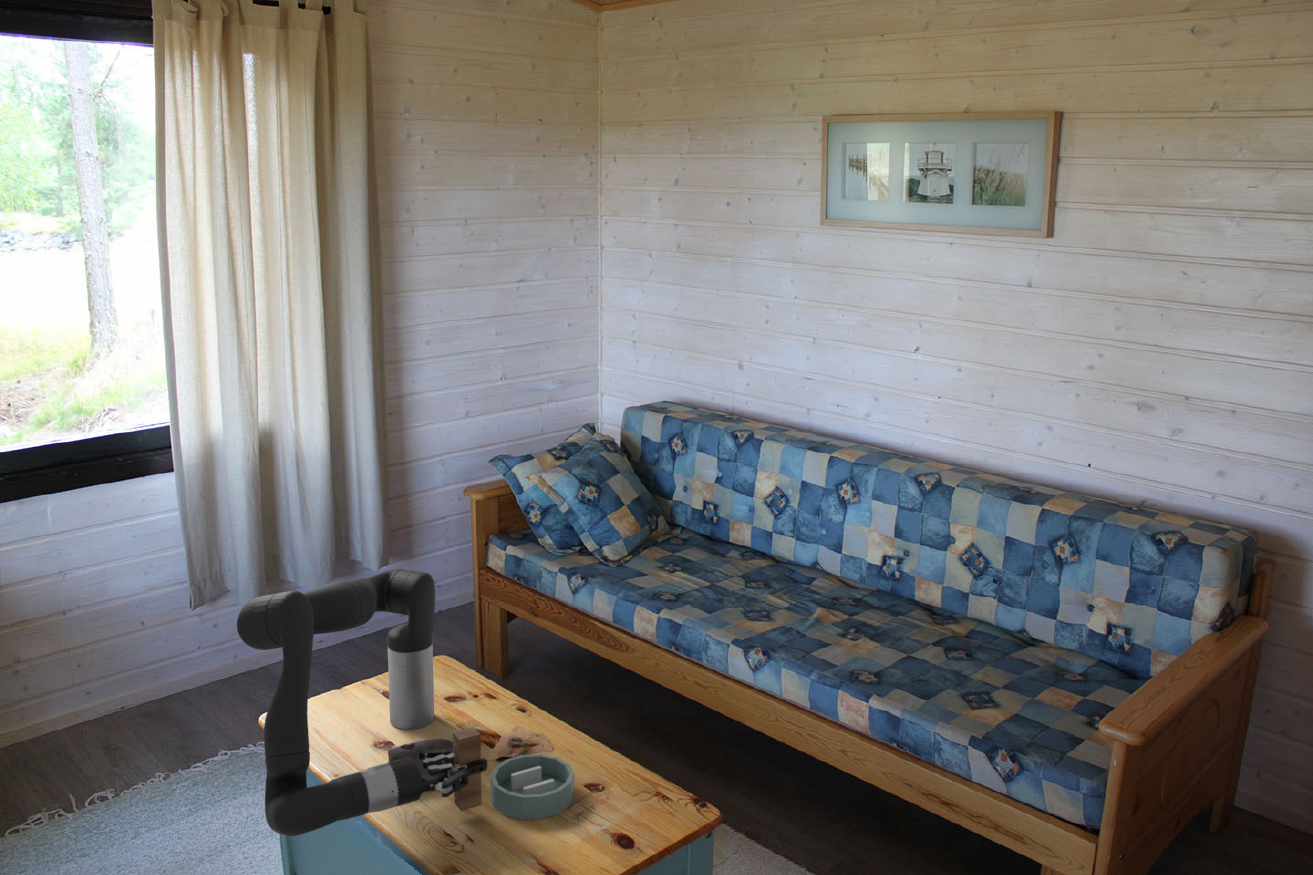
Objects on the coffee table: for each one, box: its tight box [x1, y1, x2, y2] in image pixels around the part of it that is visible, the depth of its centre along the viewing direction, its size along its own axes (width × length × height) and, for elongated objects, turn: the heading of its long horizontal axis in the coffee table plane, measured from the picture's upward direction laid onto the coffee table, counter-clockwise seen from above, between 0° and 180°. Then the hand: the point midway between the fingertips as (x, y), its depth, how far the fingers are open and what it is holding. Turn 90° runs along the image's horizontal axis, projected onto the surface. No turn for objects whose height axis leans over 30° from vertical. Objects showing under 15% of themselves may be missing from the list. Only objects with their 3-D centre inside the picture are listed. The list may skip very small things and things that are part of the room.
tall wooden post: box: [452, 726, 483, 812], centre depth 193 cm, size 3×4×14 cm
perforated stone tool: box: [387, 738, 453, 762], centre depth 208 cm, size 15×5×7 cm, turn 130°
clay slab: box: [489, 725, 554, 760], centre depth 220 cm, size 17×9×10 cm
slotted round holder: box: [490, 753, 575, 821], centre depth 202 cm, size 15×15×4 cm
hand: (481, 759), depth 195 cm, fingers closed on tall wooden post, 3 cm apart
